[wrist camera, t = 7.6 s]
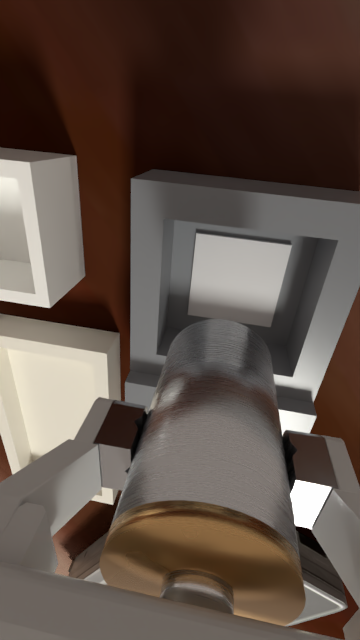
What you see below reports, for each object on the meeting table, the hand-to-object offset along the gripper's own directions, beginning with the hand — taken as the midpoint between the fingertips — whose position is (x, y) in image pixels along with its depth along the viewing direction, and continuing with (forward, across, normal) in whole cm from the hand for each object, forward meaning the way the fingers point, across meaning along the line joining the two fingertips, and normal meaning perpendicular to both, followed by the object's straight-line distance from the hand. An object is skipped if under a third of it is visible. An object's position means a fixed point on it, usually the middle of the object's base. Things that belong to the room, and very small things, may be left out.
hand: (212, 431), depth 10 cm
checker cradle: (+12, 0, +1) cm, 12 cm away
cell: (+3, 0, 0) cm, 3 cm away
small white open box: (+12, +12, -2) cm, 17 cm away
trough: (+12, +12, +14) cm, 21 cm away
